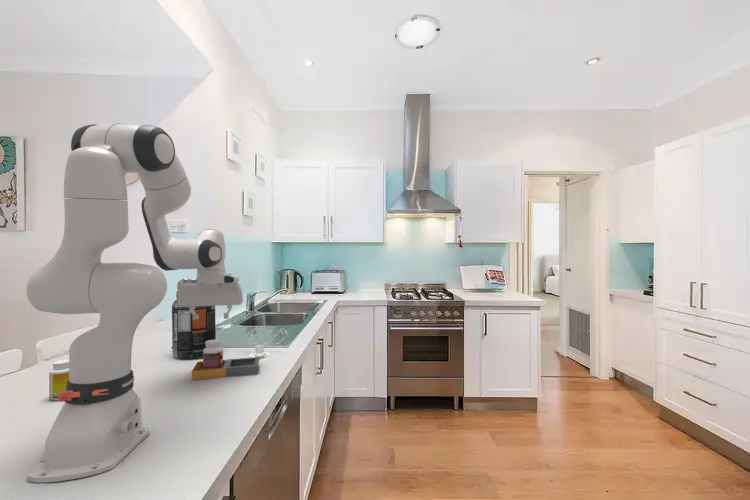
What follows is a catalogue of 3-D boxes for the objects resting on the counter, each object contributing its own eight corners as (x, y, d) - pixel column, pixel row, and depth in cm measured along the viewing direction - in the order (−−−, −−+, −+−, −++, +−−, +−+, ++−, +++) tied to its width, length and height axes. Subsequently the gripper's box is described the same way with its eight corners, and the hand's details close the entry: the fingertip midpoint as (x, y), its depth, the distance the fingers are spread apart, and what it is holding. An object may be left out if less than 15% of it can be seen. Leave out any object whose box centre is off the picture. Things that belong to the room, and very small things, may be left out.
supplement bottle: (79, 395, 108) (79, 359, 108) (56, 402, 103) (56, 365, 103) (67, 392, 111) (67, 357, 111) (45, 399, 106) (44, 362, 106)
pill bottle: (224, 374, 126) (224, 341, 126) (204, 378, 123) (204, 344, 123) (220, 369, 131) (220, 338, 131) (201, 372, 128) (201, 340, 128)
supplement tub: (193, 348, 160) (193, 287, 160) (224, 351, 155) (224, 288, 155) (162, 358, 145) (162, 291, 145) (194, 362, 140) (194, 292, 140)
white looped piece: (263, 360, 144) (263, 349, 144) (244, 359, 145) (244, 348, 145) (273, 353, 153) (273, 343, 153) (255, 353, 154) (255, 343, 154)
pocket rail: (258, 374, 126) (258, 365, 126) (191, 380, 121) (191, 371, 121) (259, 365, 136) (259, 357, 136) (197, 370, 131) (197, 361, 131)
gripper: (174, 279, 121) (174, 322, 121) (242, 277, 127) (242, 319, 126) (179, 278, 127) (179, 319, 127) (243, 277, 133) (243, 316, 132)
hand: (211, 319), depth 127 cm, fingers open, 8 cm apart
